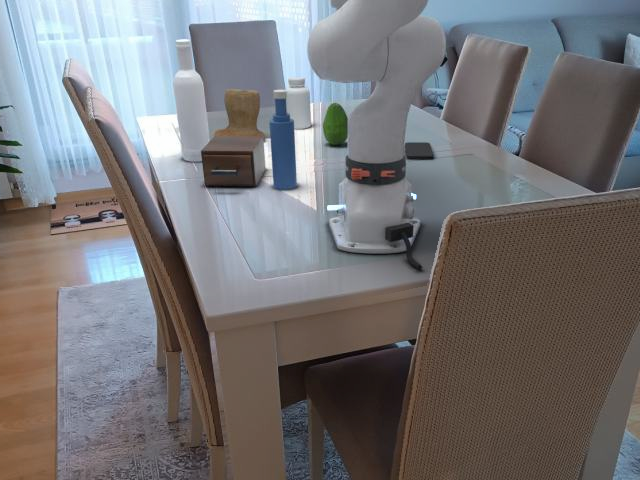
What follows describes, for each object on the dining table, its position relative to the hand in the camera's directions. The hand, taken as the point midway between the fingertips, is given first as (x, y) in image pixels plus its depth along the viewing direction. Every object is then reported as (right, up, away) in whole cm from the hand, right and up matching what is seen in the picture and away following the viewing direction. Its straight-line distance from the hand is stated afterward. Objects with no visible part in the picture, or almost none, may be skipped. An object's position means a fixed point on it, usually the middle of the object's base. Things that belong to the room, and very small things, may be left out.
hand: (342, 28), depth 143 cm
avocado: (-2, -11, +48) cm, 49 cm away
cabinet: (-27, -28, +20) cm, 44 cm away
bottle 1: (-41, -19, +36) cm, 57 cm away
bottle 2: (-14, -32, +13) cm, 37 cm away
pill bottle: (-15, +1, +69) cm, 71 cm away
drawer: (-27, -29, +16) cm, 43 cm away
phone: (+22, -16, +40) cm, 48 cm away
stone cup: (-32, -8, +53) cm, 63 cm away
